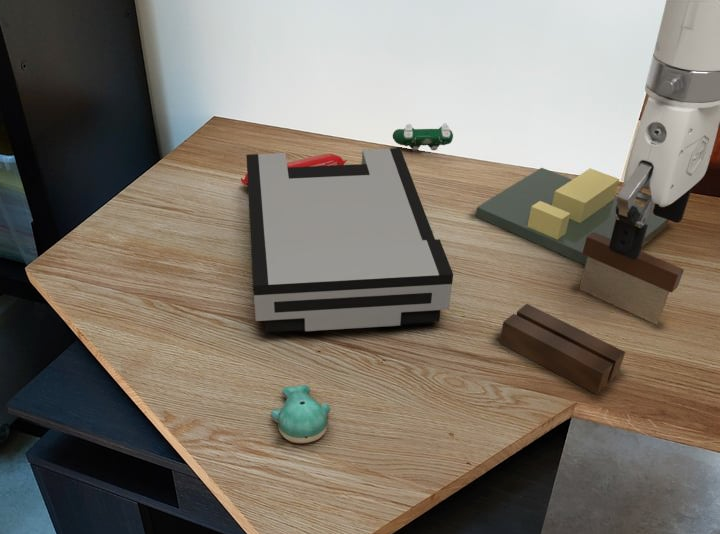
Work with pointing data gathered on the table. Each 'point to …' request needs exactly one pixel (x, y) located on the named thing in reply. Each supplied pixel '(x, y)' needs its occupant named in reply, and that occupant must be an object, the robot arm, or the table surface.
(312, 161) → the candy bar
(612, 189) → the butter stick
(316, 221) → the game console
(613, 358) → the block
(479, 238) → the table surface
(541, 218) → the butter pat
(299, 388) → the whale figurine
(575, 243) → the cutting board
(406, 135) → the gaming controller
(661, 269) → the bench scraper
